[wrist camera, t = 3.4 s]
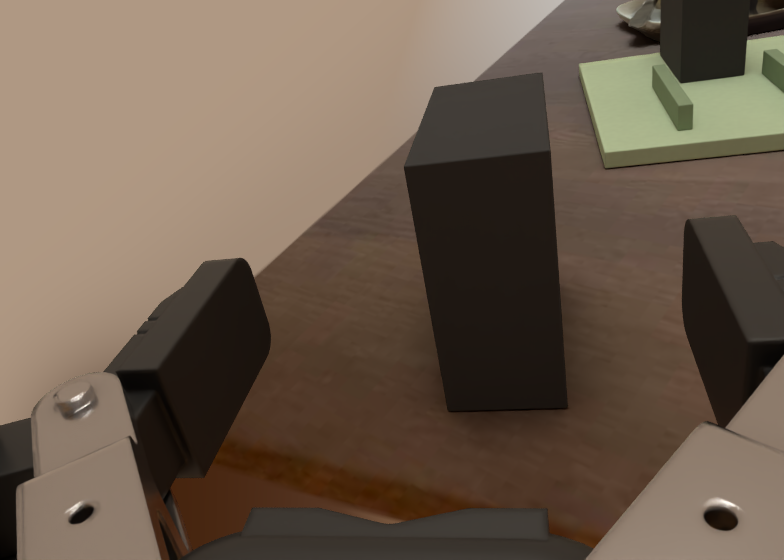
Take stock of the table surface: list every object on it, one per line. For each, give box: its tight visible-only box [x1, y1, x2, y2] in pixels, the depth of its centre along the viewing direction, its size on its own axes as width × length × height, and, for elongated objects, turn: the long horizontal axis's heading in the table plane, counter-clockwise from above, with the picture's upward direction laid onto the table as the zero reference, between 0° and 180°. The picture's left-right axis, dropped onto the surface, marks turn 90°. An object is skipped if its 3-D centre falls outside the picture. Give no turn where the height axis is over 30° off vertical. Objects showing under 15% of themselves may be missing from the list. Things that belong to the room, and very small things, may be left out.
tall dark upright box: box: [404, 73, 568, 411], centre depth 24 cm, size 4×8×9 cm, turn 171°
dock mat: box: [579, 0, 784, 168], centre depth 43 cm, size 16×20×10 cm
